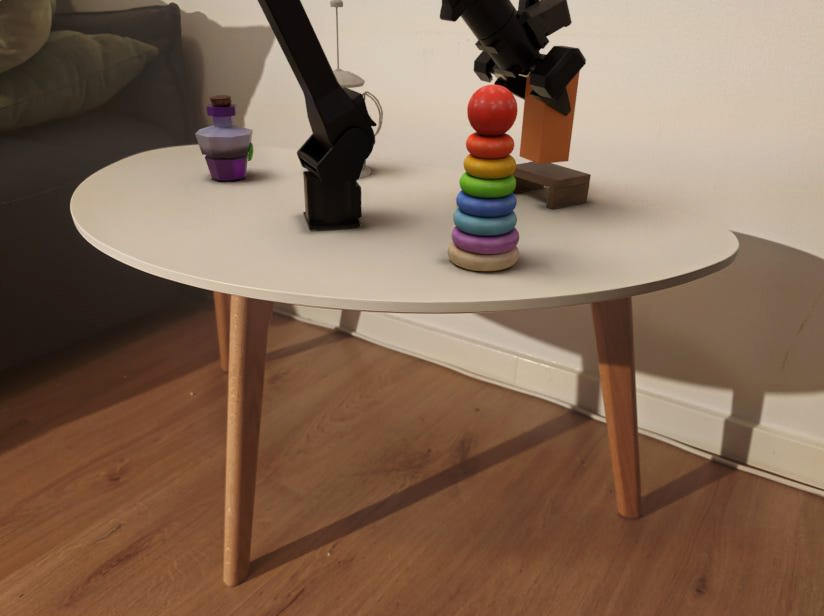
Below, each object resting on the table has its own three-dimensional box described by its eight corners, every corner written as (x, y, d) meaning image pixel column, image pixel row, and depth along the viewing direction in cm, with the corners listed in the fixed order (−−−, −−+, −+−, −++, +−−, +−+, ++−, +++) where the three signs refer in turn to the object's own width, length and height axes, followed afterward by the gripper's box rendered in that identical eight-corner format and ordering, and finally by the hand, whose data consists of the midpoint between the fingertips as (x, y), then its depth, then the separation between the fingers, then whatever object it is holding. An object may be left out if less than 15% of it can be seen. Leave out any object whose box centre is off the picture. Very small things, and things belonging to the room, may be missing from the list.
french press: (319, 163, 118) (312, -4, 106) (387, 166, 117) (387, -2, 105) (303, 177, 109) (293, -3, 97) (376, 181, 108) (375, 0, 96)
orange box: (538, 164, 97) (549, 66, 91) (519, 156, 101) (527, 62, 95) (568, 161, 98) (580, 65, 92) (548, 153, 102) (558, 61, 96)
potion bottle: (264, 181, 107) (257, 98, 101) (206, 187, 103) (196, 101, 97) (249, 168, 113) (242, 90, 108) (195, 173, 110) (184, 92, 104)
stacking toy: (443, 249, 82) (450, 78, 73) (509, 248, 83) (525, 79, 74) (452, 274, 75) (462, 89, 66) (525, 273, 76) (544, 90, 67)
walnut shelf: (552, 209, 97) (555, 180, 95) (504, 192, 104) (506, 165, 102) (587, 202, 101) (591, 174, 99) (538, 186, 108) (541, 160, 106)
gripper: (584, -29, 79) (642, 72, 89) (498, -30, 94) (556, 57, 104) (518, 48, 80) (583, 140, 90) (444, 35, 95) (506, 115, 104)
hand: (557, 110), depth 97 cm, fingers closed on orange box, 5 cm apart
